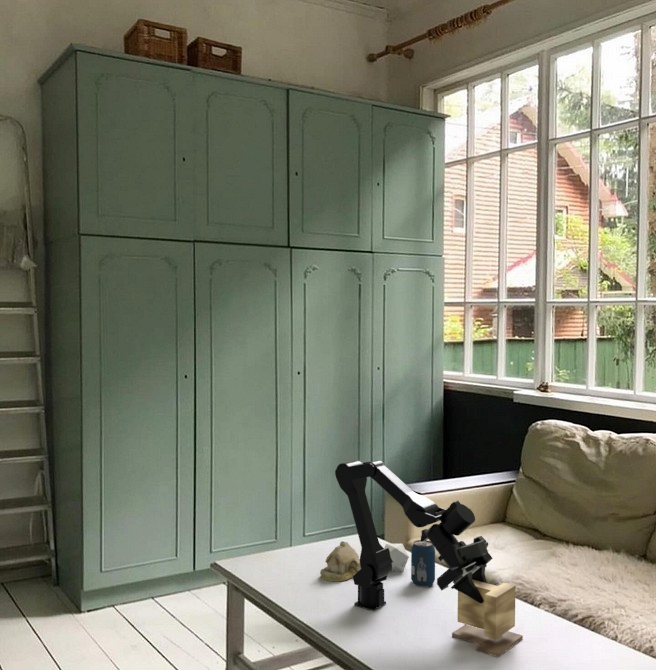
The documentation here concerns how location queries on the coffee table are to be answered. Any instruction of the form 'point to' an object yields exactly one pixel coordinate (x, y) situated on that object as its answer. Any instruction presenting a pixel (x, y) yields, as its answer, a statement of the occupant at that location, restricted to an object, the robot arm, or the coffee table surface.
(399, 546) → the white polyhedron
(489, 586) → the oak T block
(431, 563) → the soda can
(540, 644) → the coffee table surface
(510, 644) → the walnut T outline
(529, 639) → the coffee table surface
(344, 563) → the ceramic model
